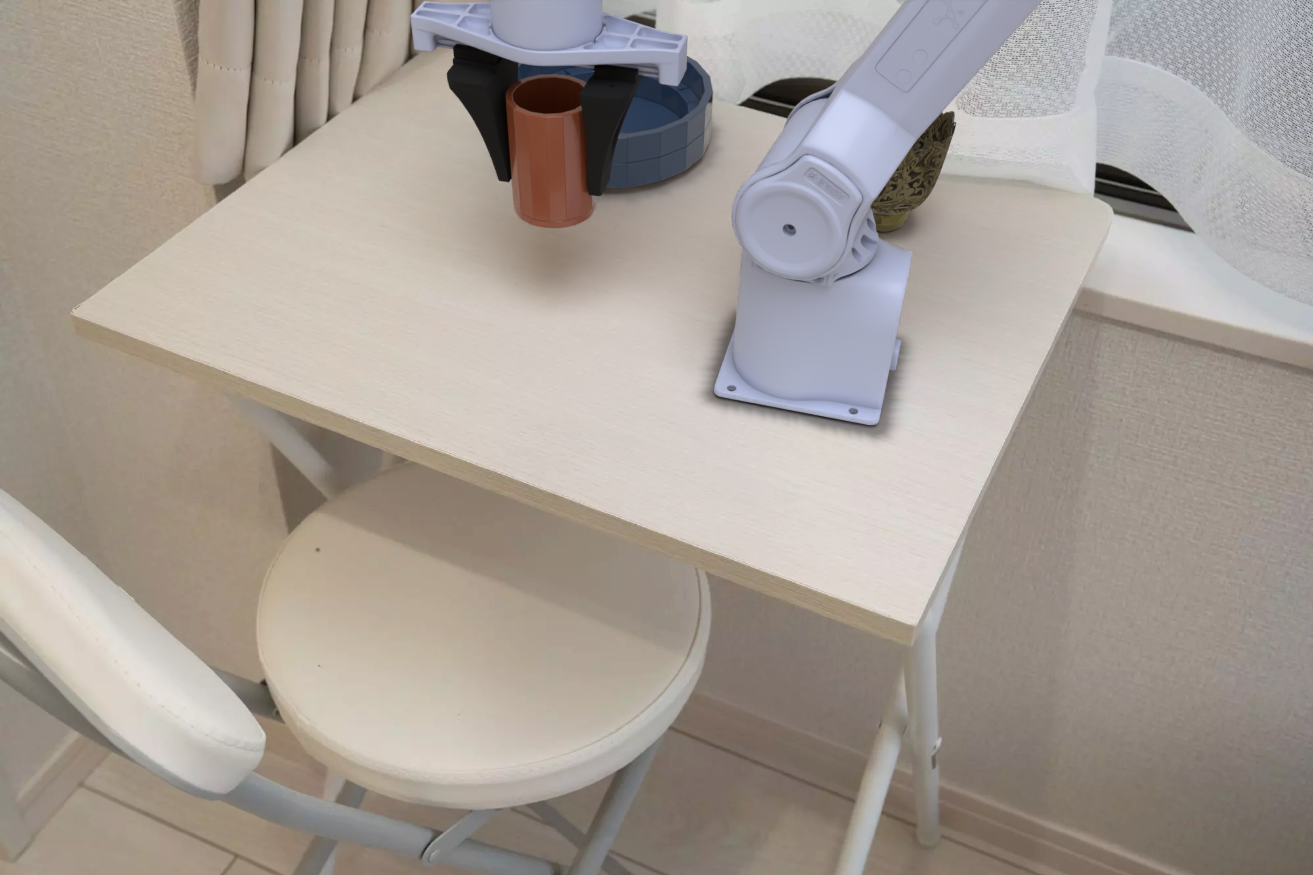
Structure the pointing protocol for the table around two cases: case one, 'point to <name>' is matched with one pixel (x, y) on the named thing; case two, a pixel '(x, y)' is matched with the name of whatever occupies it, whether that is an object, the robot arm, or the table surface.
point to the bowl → (654, 124)
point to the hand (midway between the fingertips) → (554, 180)
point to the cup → (548, 151)
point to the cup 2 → (914, 175)
